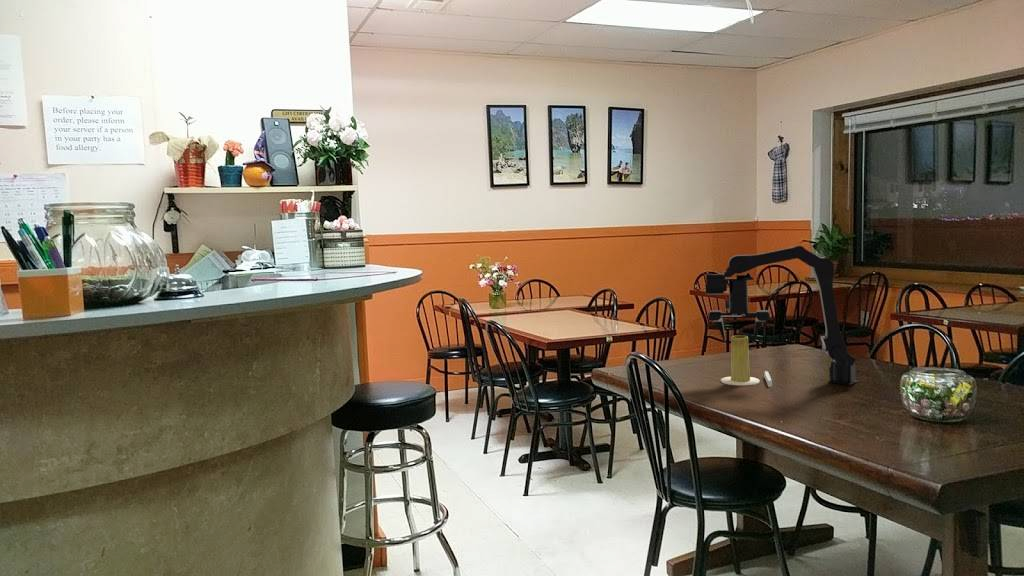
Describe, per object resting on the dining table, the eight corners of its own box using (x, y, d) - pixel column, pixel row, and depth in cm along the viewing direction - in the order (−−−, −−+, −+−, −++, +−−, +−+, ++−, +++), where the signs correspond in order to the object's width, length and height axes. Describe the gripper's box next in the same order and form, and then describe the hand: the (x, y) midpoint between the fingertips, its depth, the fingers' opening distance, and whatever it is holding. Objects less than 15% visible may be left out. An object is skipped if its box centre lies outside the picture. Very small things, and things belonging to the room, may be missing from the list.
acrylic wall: (764, 377, 230) (764, 371, 230) (767, 377, 230) (767, 371, 230) (768, 386, 217) (768, 380, 217) (771, 386, 217) (771, 380, 216)
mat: (766, 380, 225) (766, 379, 225) (746, 387, 217) (746, 385, 217) (734, 376, 234) (734, 374, 234) (713, 382, 226) (713, 380, 226)
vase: (752, 381, 222) (752, 337, 221) (733, 382, 223) (732, 338, 221) (747, 377, 228) (746, 334, 227) (728, 378, 229) (727, 335, 228)
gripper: (768, 291, 228) (769, 338, 230) (710, 292, 235) (711, 337, 236) (769, 294, 218) (770, 343, 219) (707, 295, 224) (708, 343, 226)
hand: (739, 341), depth 225 cm, fingers open, 9 cm apart
